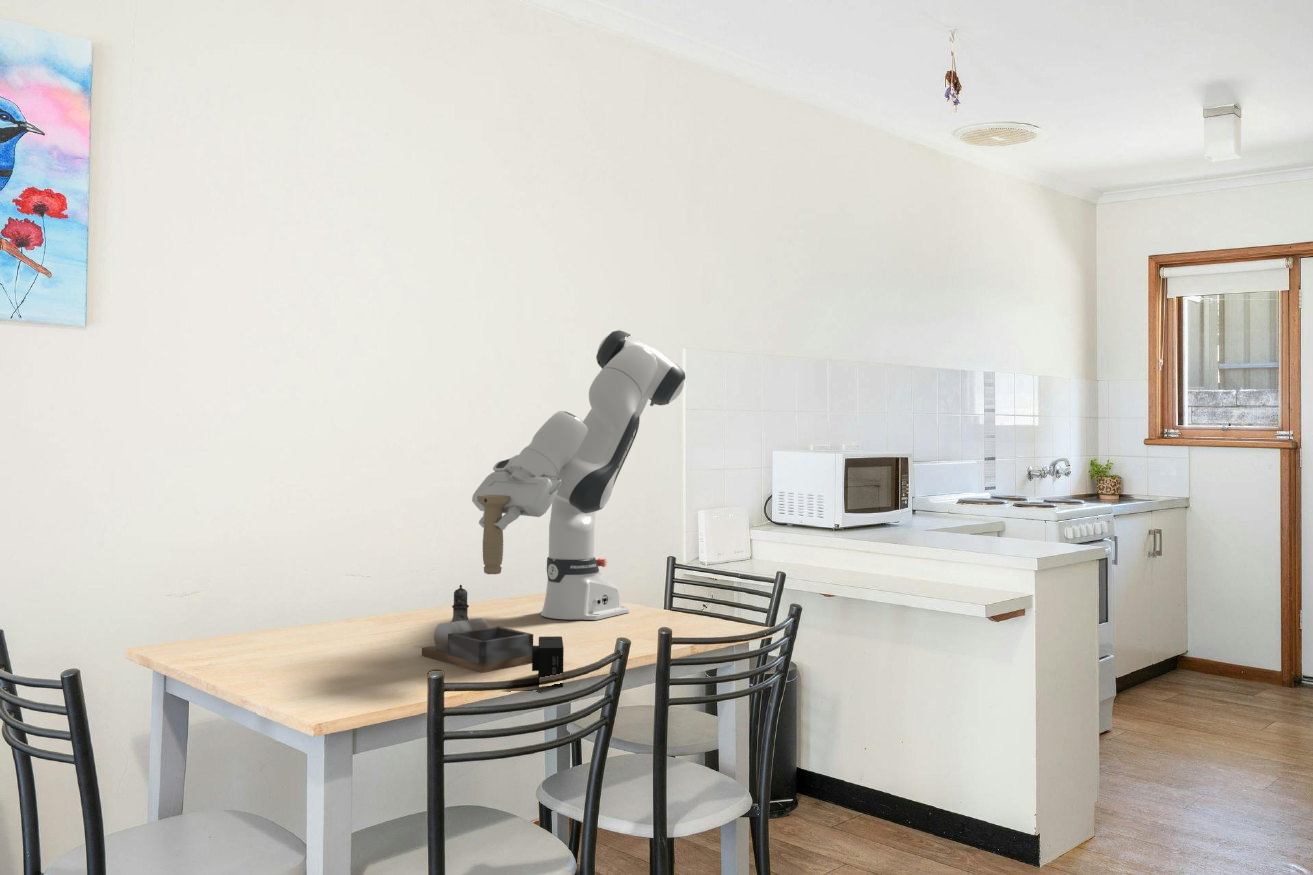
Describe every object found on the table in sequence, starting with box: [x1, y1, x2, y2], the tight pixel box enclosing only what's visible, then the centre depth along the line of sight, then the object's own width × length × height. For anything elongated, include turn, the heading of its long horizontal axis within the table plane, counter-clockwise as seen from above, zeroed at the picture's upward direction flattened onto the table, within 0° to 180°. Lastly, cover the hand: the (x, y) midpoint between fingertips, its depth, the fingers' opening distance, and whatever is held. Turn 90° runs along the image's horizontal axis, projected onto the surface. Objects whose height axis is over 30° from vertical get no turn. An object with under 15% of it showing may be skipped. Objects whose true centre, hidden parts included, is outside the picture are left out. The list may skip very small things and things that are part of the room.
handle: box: [477, 495, 510, 575], centre depth 196 cm, size 5×6×15 cm
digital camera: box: [531, 635, 565, 688], centre depth 183 cm, size 10×5×7 cm, turn 7°
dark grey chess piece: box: [450, 584, 470, 622], centre depth 217 cm, size 6×6×12 cm
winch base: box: [421, 617, 534, 673], centre depth 199 cm, size 12×20×7 cm, turn 46°
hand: (490, 526), depth 196 cm, fingers closed on handle, 3 cm apart
